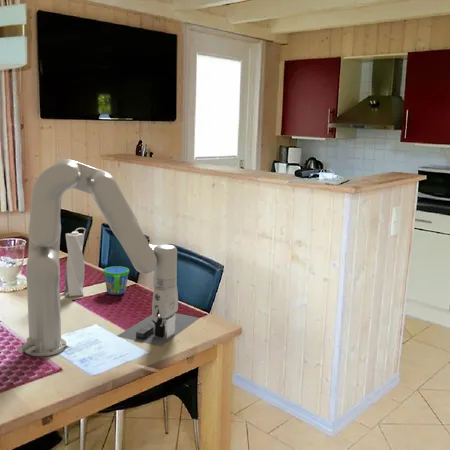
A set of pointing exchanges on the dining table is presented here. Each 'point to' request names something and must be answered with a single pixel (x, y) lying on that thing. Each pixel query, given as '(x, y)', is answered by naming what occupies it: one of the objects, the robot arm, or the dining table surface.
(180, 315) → the tool mat
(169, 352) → the dining table surface
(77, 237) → the skyscraper
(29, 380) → the dining table surface
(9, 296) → the dining table surface
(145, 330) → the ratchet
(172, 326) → the light grey block
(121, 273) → the snack cup
